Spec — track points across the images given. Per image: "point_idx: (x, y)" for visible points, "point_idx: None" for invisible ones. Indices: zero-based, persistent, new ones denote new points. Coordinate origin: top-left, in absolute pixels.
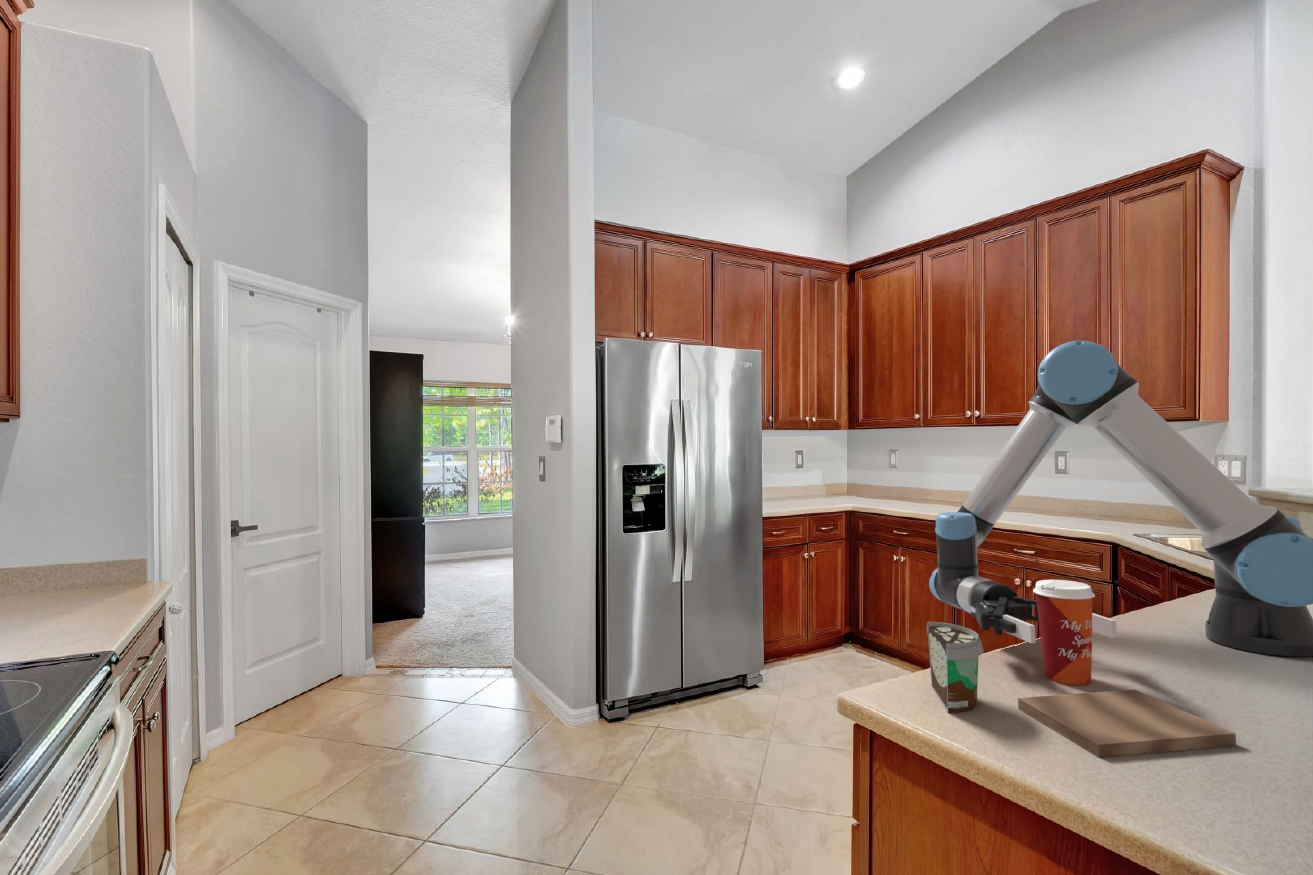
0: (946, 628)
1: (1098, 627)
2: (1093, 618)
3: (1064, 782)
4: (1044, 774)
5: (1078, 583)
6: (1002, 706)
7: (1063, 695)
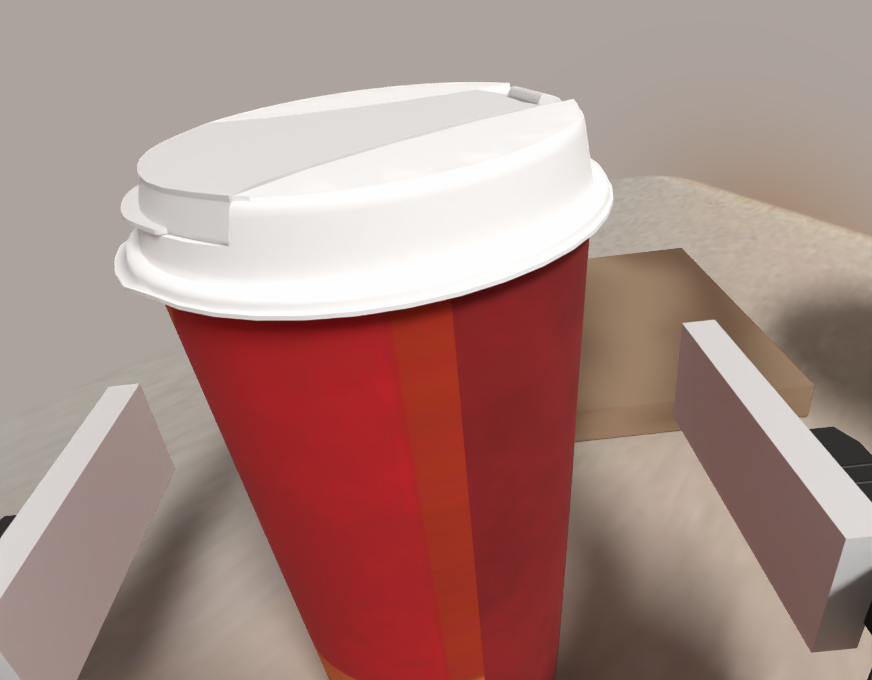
0: None
1: (124, 519)
2: (82, 513)
3: (778, 230)
4: (808, 239)
5: (202, 142)
6: (865, 430)
7: (638, 400)
